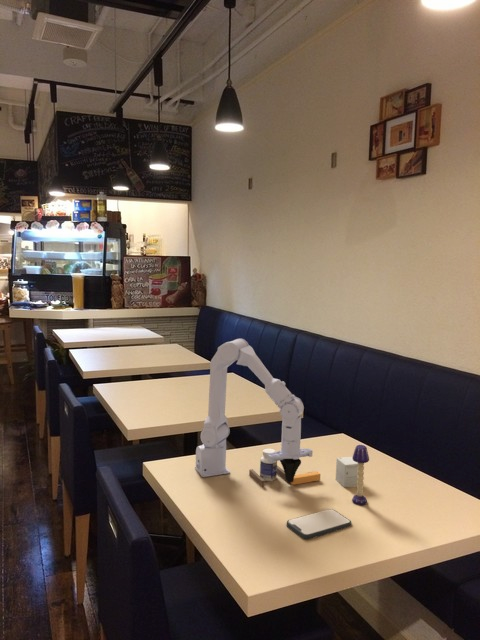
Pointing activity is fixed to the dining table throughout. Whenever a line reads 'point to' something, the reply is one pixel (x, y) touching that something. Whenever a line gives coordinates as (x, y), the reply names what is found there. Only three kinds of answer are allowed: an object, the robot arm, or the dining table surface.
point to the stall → (261, 480)
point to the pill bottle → (268, 466)
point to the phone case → (318, 524)
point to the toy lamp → (360, 473)
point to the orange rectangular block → (306, 478)
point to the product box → (346, 471)
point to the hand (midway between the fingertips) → (289, 481)
